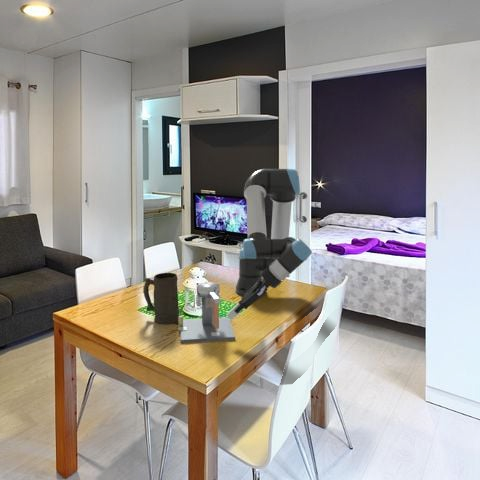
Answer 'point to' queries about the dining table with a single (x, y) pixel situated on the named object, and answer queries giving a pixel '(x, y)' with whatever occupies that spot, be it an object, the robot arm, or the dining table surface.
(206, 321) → the post on base plate
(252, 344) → the dining table surface
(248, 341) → the dining table surface
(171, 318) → the beer stein
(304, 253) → the robot arm
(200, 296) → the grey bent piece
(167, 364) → the dining table surface
